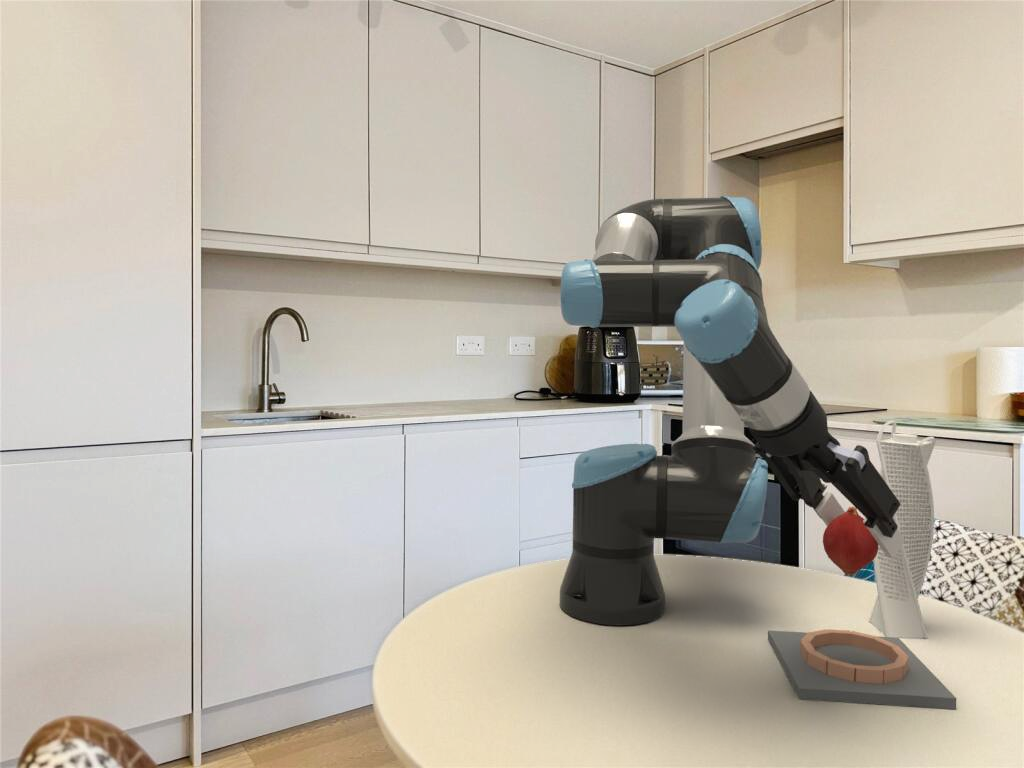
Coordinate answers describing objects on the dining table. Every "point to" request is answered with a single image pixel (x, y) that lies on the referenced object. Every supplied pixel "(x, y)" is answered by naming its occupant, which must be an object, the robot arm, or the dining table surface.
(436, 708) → the dining table surface
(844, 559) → the red rounded fruit
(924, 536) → the skyscraper
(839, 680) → the dock
